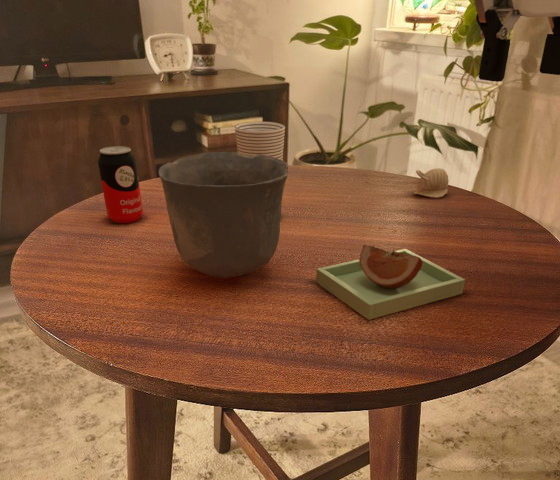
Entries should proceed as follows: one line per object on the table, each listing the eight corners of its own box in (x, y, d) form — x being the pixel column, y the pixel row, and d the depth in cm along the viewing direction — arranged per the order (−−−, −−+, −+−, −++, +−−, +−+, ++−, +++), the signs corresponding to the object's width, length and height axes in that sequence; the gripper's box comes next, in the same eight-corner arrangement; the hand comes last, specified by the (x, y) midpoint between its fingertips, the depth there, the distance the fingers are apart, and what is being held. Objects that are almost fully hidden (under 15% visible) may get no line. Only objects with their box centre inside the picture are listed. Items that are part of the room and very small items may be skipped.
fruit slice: (349, 284, 77) (352, 249, 75) (373, 268, 82) (376, 235, 79) (404, 300, 73) (409, 265, 70) (427, 283, 78) (432, 248, 75)
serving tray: (403, 261, 85) (405, 248, 84) (462, 293, 76) (465, 279, 75) (316, 282, 79) (316, 268, 78) (368, 320, 70) (369, 304, 69)
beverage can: (103, 224, 100) (89, 153, 93) (115, 212, 105) (104, 145, 98) (137, 225, 99) (126, 154, 92) (148, 214, 104) (139, 145, 98)
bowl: (316, 273, 82) (320, 167, 74) (223, 313, 72) (215, 195, 63) (237, 241, 92) (232, 145, 84) (145, 272, 82) (130, 166, 74)
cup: (292, 214, 104) (293, 123, 95) (271, 228, 98) (270, 132, 89) (252, 207, 107) (250, 119, 99) (229, 220, 101) (224, 128, 92)
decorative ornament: (452, 196, 113) (457, 168, 110) (416, 200, 111) (420, 172, 108) (441, 190, 116) (445, 163, 113) (406, 194, 114) (409, 167, 111)
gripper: (528, -133, 49) (490, 87, 58) (653, -122, 55) (601, 74, 65) (466, -119, 54) (441, 79, 64) (586, -110, 61) (547, 69, 70)
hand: (521, 77), depth 64 cm, fingers open, 9 cm apart
